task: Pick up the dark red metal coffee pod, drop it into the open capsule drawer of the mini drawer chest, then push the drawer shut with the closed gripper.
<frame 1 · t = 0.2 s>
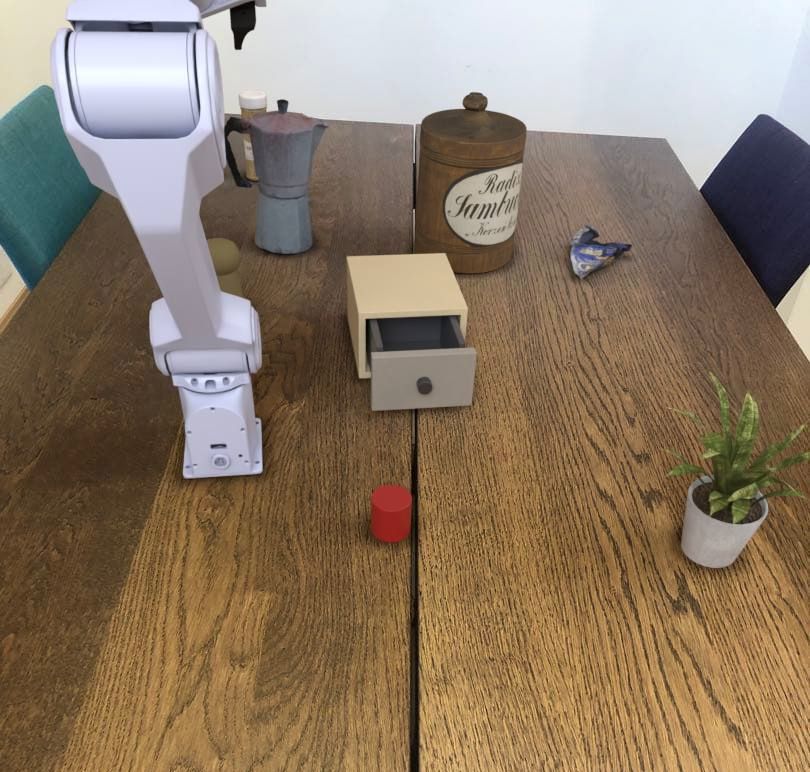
hand: (200, 40, 85), 32 cm above the table, tool tilted 50°, fingers open, 7 cm apart
moka pot: (282, 245, 124), on the table
snack package: (593, 264, 123), on the table
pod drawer: (415, 353, 94), point 4 cm above the table, slide at 7.0 cm
mini drawer chest: (402, 344, 104), on the table
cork: (227, 326, 106), on the table
sprinkles bottle: (259, 178, 144), on the table
wooden container: (462, 254, 124), on the table
house plant: (695, 543, 79), on the table
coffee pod: (390, 529, 79), on the table
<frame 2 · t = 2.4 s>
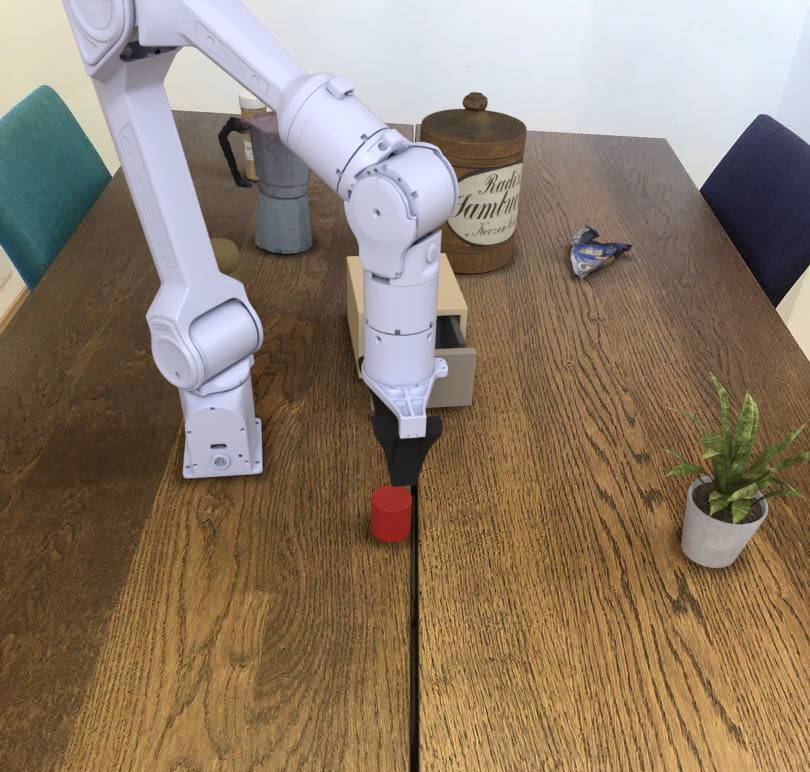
hand: (396, 456, 73), 9 cm above the table, tool pointing down, fingers open, 7 cm apart
nothing on the table moved.
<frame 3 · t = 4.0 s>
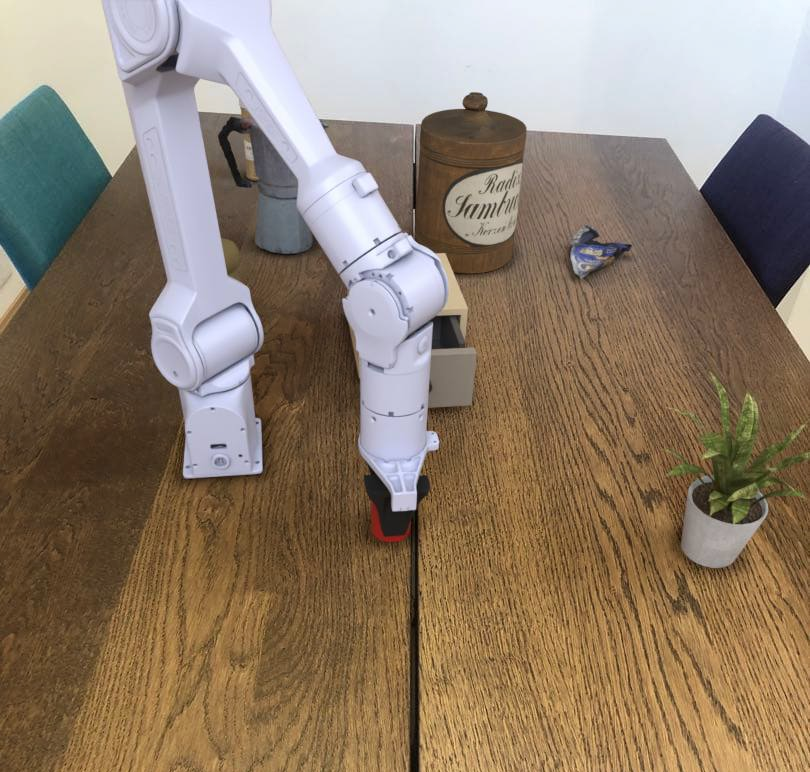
hand: (391, 518, 78), 1 cm above the table, tool pointing down, fingers closed on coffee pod, 4 cm apart
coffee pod: (390, 528, 79), on the table, touching gripper
everything else where it was.
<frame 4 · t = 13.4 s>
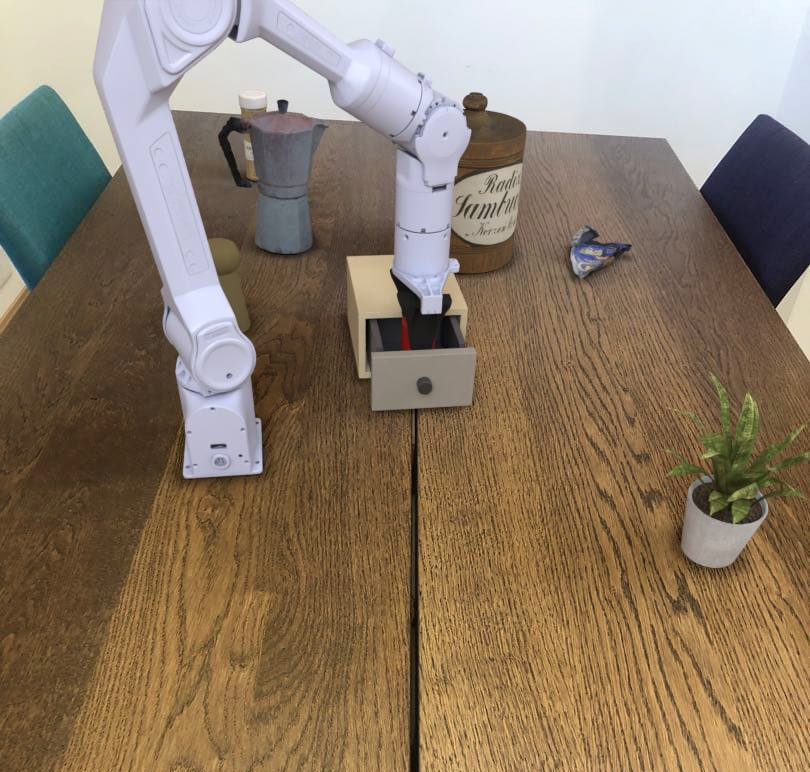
hand: (417, 342, 92), 6 cm above the table, tool pointing down, fingers closed on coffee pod, 4 cm apart
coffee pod: (417, 353, 93), point 5 cm above the table, touching gripper
everything else where it was.
when the fingers open (10 cm above the table, at t = 24.1 s): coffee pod drops 6 cm, resting on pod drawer.
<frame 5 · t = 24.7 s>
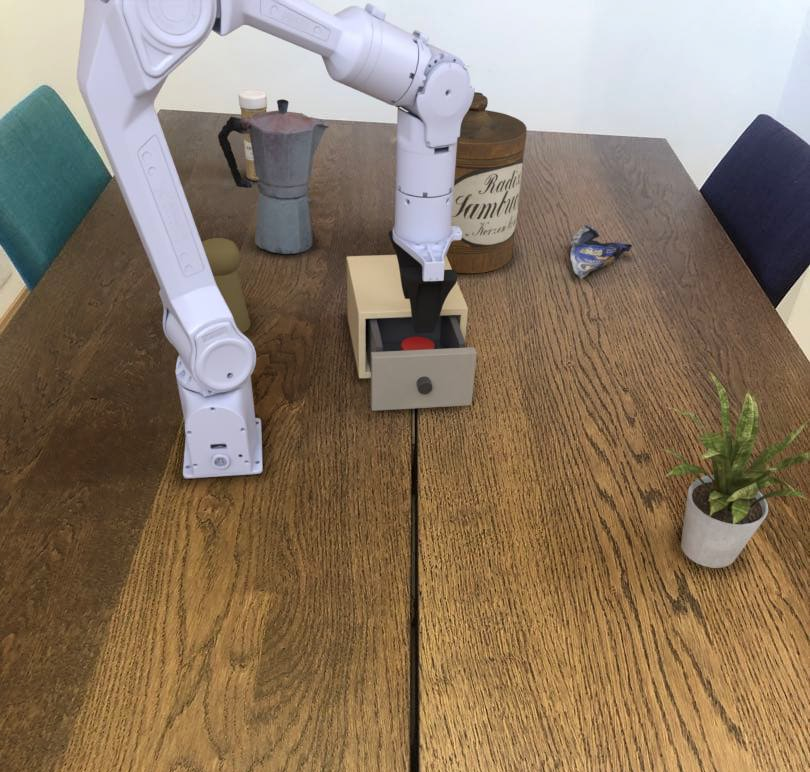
hand: (418, 313, 89), 10 cm above the table, tool pointing down, fingers open, 7 cm apart
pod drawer: (415, 353, 94), point 4 cm above the table, slide at 7.0 cm, touching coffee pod
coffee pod: (416, 375, 95), point 2 cm above the table, touching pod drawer
everything else where it was.
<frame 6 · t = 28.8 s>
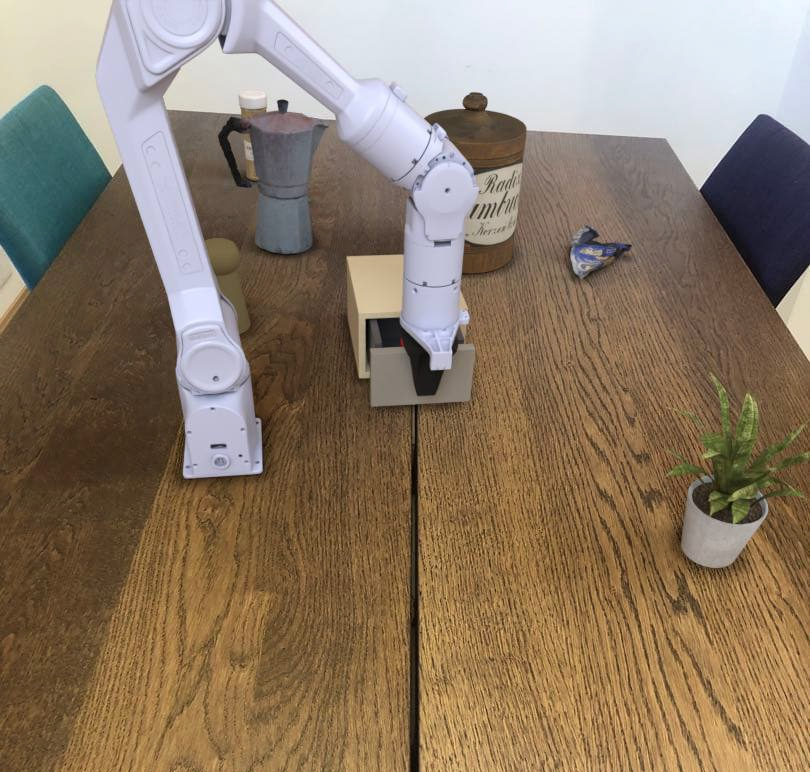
hand: (425, 392, 89), 4 cm above the table, tool pointing down, fingers closed
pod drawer: (413, 349, 95), point 4 cm above the table, slide at 6.2 cm, touching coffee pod, gripper
everything else where it was.
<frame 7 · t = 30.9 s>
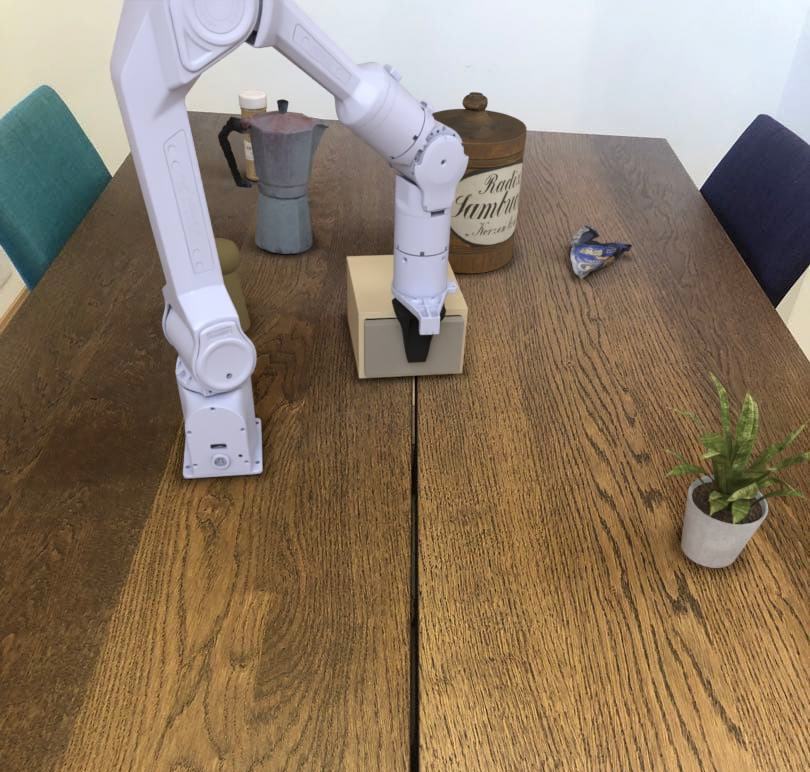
hand: (416, 360, 94), 4 cm above the table, tool pointing down, fingers closed, pressing on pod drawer
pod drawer: (406, 323, 99), point 4 cm above the table, slide at 0.0 cm, touching mini drawer chest, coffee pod, gripper
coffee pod: (407, 344, 100), point 2 cm above the table, touching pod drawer
everything else where it was.
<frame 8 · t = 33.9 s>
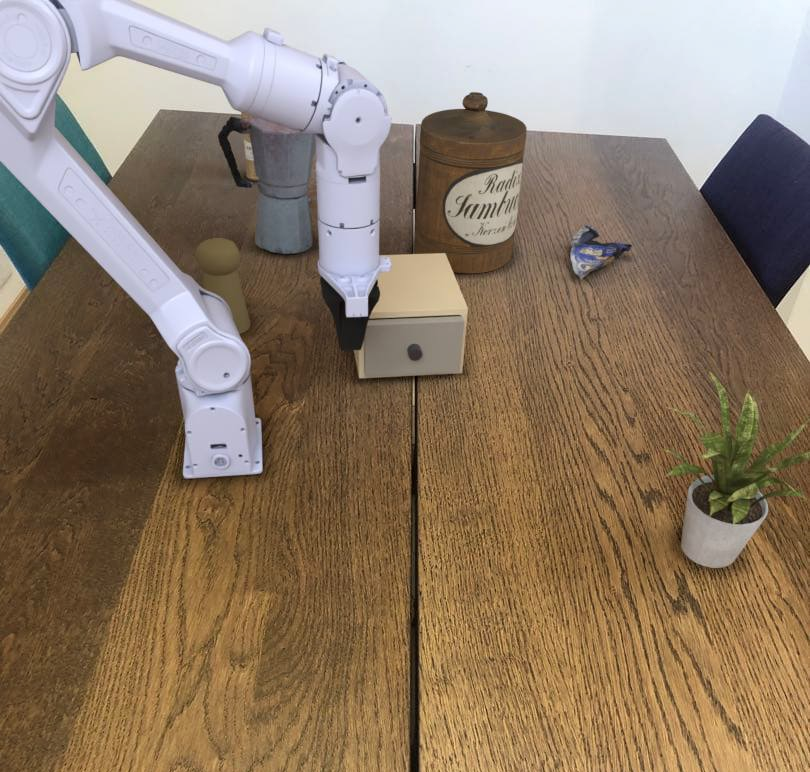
hand: (350, 347, 85), 9 cm above the table, tool pointing down, fingers closed
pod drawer: (406, 323, 99), point 4 cm above the table, slide at 0.0 cm, touching mini drawer chest, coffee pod
everything else where it was.
at the end: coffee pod inside the target area in the mini drawer chest (3.4 cm from its centre), point 2.0 cm above the mini drawer chest's base; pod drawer slide at 0.0 cm; the gripper is holding nothing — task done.
